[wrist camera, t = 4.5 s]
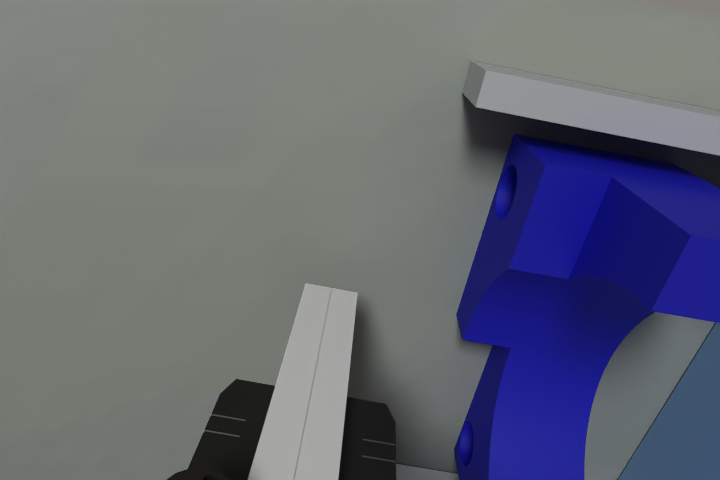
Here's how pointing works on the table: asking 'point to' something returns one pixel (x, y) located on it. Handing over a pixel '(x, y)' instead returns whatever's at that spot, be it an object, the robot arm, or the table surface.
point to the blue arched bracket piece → (574, 294)
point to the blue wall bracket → (654, 124)
